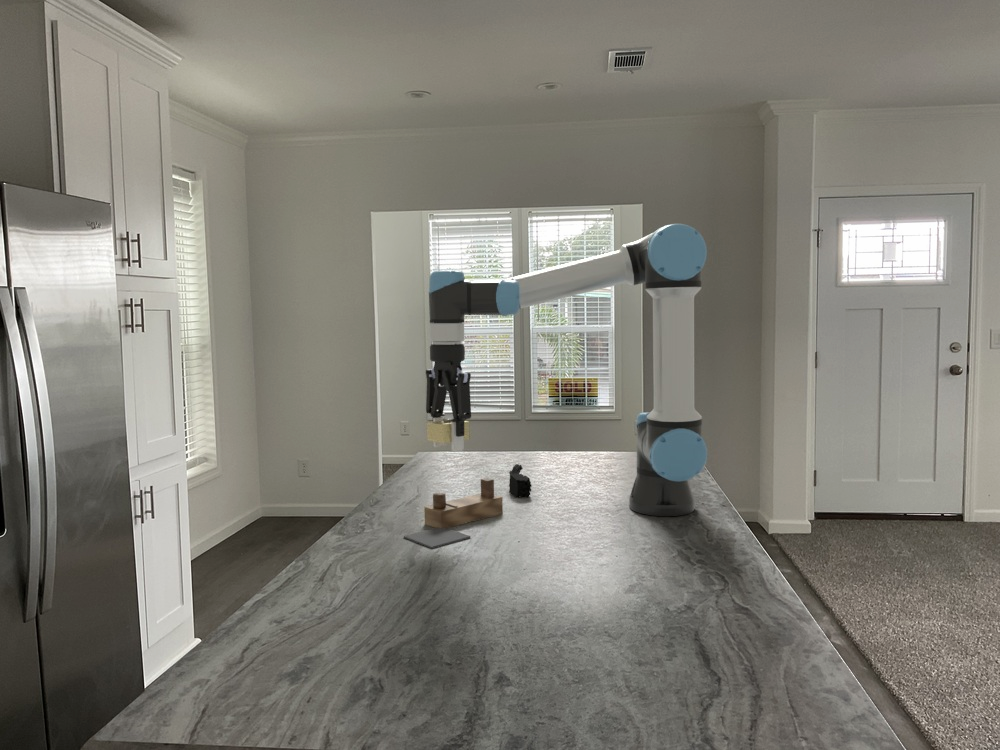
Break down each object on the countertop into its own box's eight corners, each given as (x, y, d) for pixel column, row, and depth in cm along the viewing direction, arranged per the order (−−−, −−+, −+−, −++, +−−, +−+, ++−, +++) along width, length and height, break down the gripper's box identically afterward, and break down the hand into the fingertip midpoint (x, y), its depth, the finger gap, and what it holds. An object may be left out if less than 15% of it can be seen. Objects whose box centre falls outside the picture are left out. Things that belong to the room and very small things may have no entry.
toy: (532, 498, 187) (532, 472, 186) (512, 499, 186) (512, 473, 186) (522, 485, 202) (522, 461, 201) (504, 486, 201) (504, 462, 201)
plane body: (486, 508, 178) (485, 475, 177) (502, 513, 173) (502, 480, 172) (424, 524, 166) (423, 489, 165) (440, 529, 161) (440, 493, 161)
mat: (470, 538, 155) (470, 536, 155) (431, 548, 149) (431, 546, 149) (441, 527, 163) (441, 526, 163) (403, 537, 156) (403, 535, 156)
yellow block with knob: (453, 437, 166) (452, 416, 166) (469, 439, 162) (468, 418, 161) (427, 440, 162) (426, 419, 161) (443, 443, 157) (442, 421, 157)
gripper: (488, 344, 155) (489, 453, 157) (436, 341, 169) (437, 440, 172) (459, 345, 150) (460, 457, 152) (408, 342, 165) (410, 444, 167)
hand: (448, 448), depth 162 cm, fingers closed on yellow block with knob, 6 cm apart
